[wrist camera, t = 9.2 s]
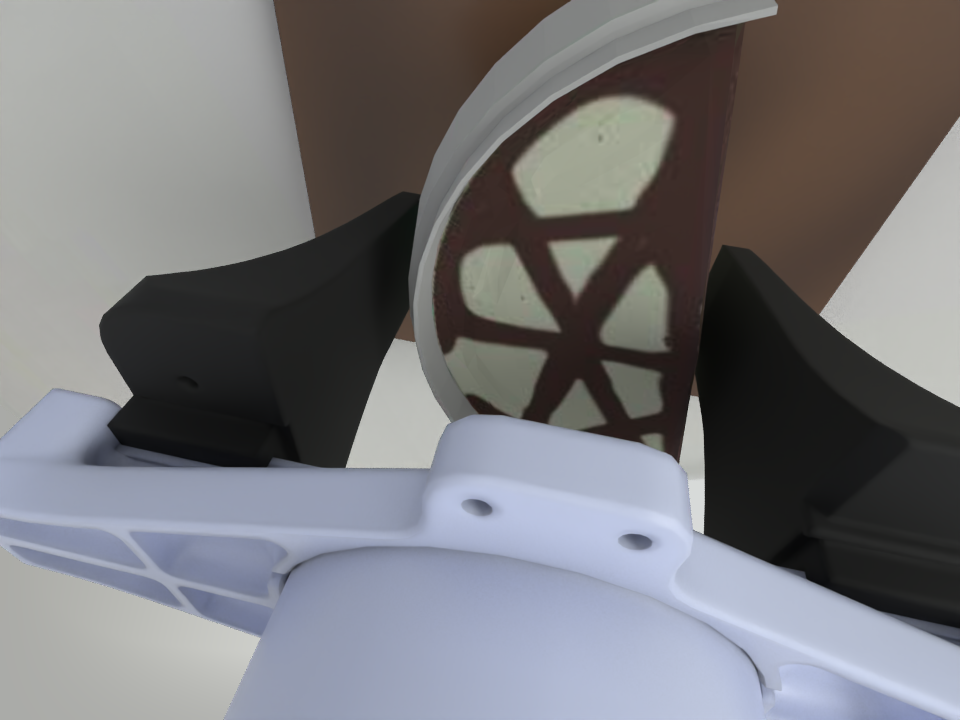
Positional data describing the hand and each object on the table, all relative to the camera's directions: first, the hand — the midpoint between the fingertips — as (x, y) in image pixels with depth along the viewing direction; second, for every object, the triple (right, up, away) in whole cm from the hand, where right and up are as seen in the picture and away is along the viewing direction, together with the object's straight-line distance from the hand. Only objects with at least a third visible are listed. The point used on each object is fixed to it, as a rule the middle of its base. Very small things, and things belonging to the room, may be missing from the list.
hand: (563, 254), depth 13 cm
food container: (+1, +4, +4) cm, 6 cm away
